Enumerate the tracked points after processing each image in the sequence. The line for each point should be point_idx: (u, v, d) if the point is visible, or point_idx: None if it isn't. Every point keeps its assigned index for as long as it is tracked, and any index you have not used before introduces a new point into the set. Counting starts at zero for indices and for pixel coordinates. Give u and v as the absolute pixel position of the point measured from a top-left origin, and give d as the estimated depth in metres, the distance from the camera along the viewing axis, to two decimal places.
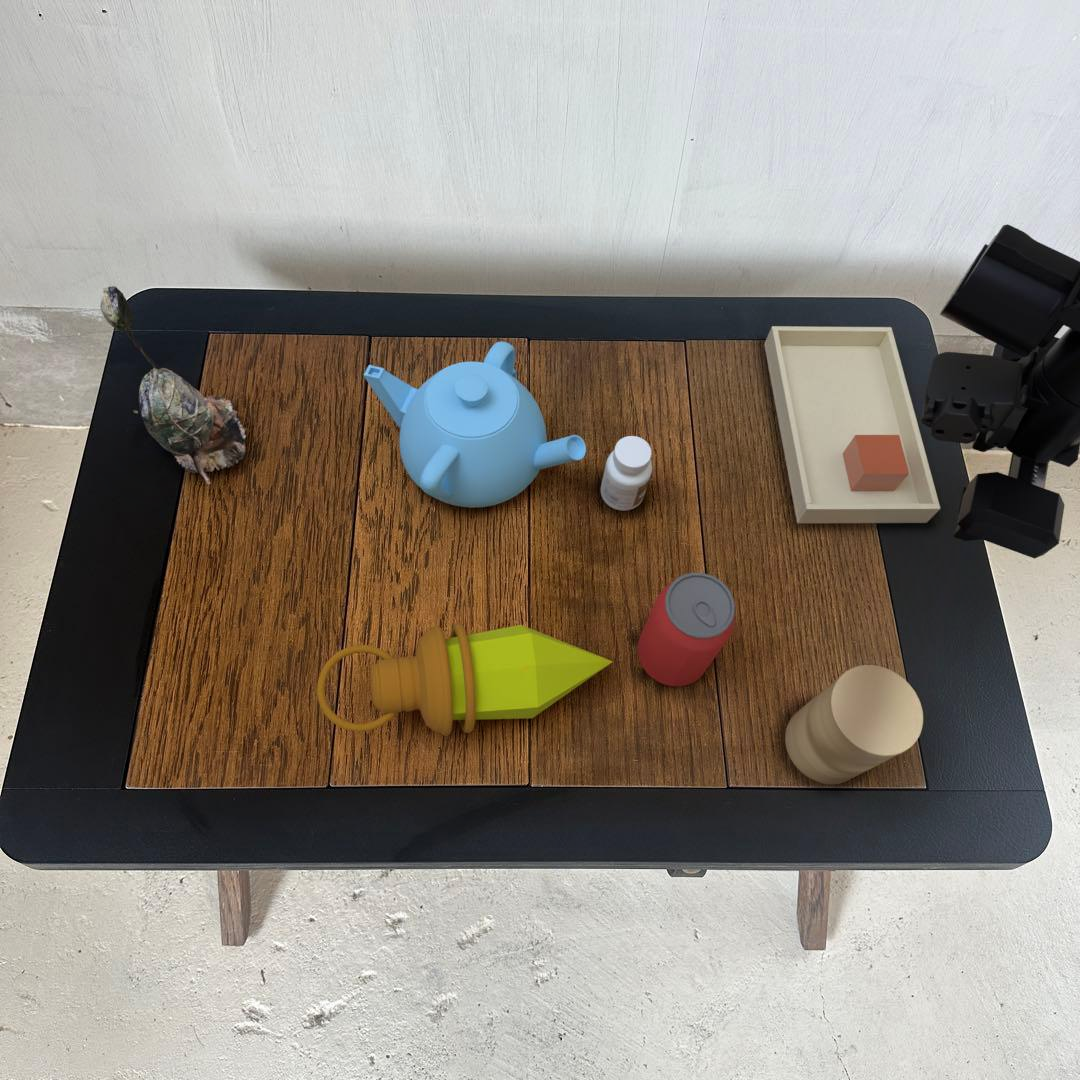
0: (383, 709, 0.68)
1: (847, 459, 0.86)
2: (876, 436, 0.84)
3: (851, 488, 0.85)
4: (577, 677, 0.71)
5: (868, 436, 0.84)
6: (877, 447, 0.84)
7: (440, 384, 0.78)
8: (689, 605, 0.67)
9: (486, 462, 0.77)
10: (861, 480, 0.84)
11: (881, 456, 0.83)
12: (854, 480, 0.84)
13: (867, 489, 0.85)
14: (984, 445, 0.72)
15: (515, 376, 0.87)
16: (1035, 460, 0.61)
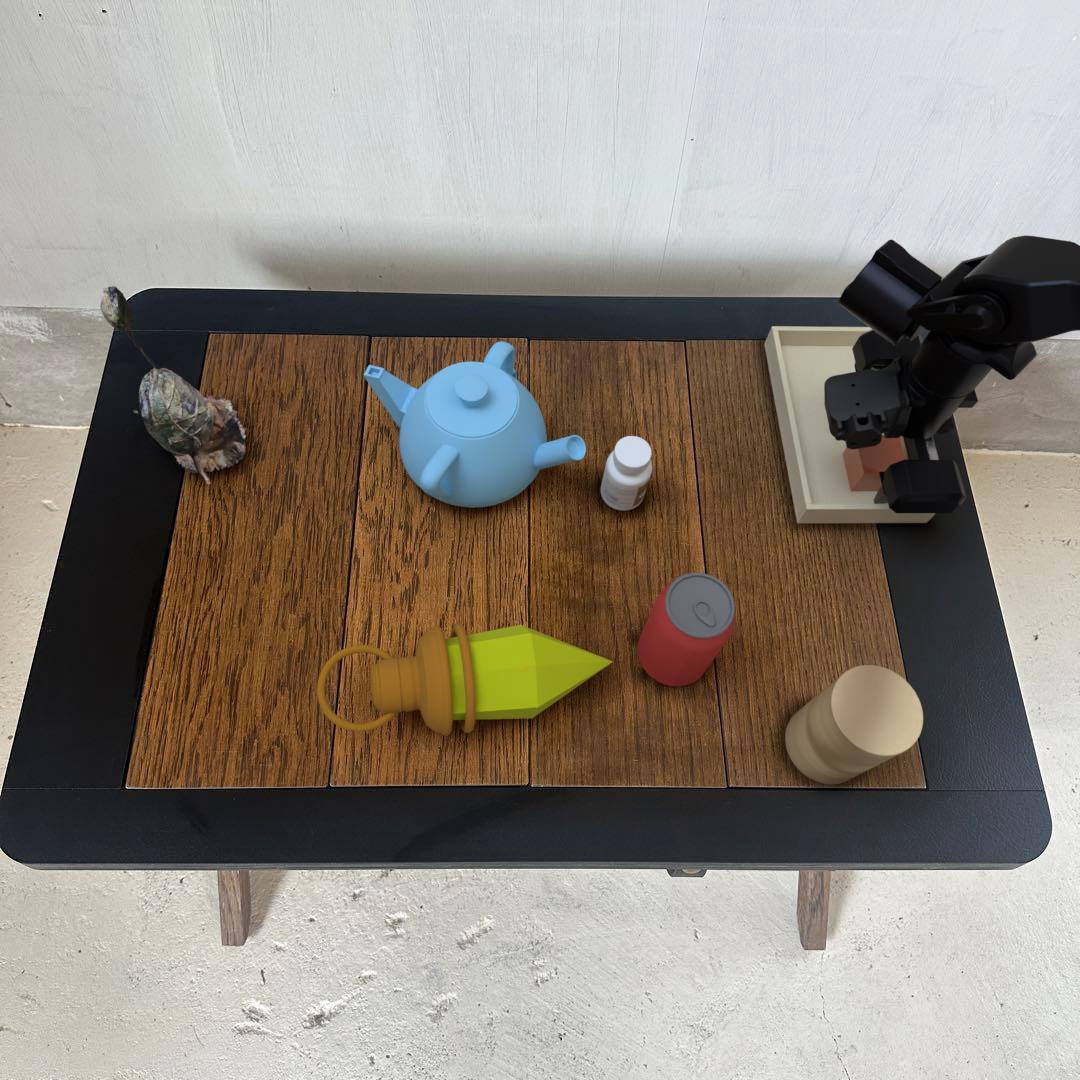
0: (383, 709, 0.68)
1: (847, 459, 0.86)
2: None
3: (851, 488, 0.85)
4: (577, 677, 0.71)
5: None
6: (877, 447, 0.84)
7: (440, 384, 0.78)
8: (689, 605, 0.67)
9: (486, 462, 0.77)
10: (861, 480, 0.84)
11: (881, 456, 0.83)
12: (854, 480, 0.84)
13: (867, 489, 0.85)
14: None
15: (515, 376, 0.87)
16: (924, 438, 0.76)
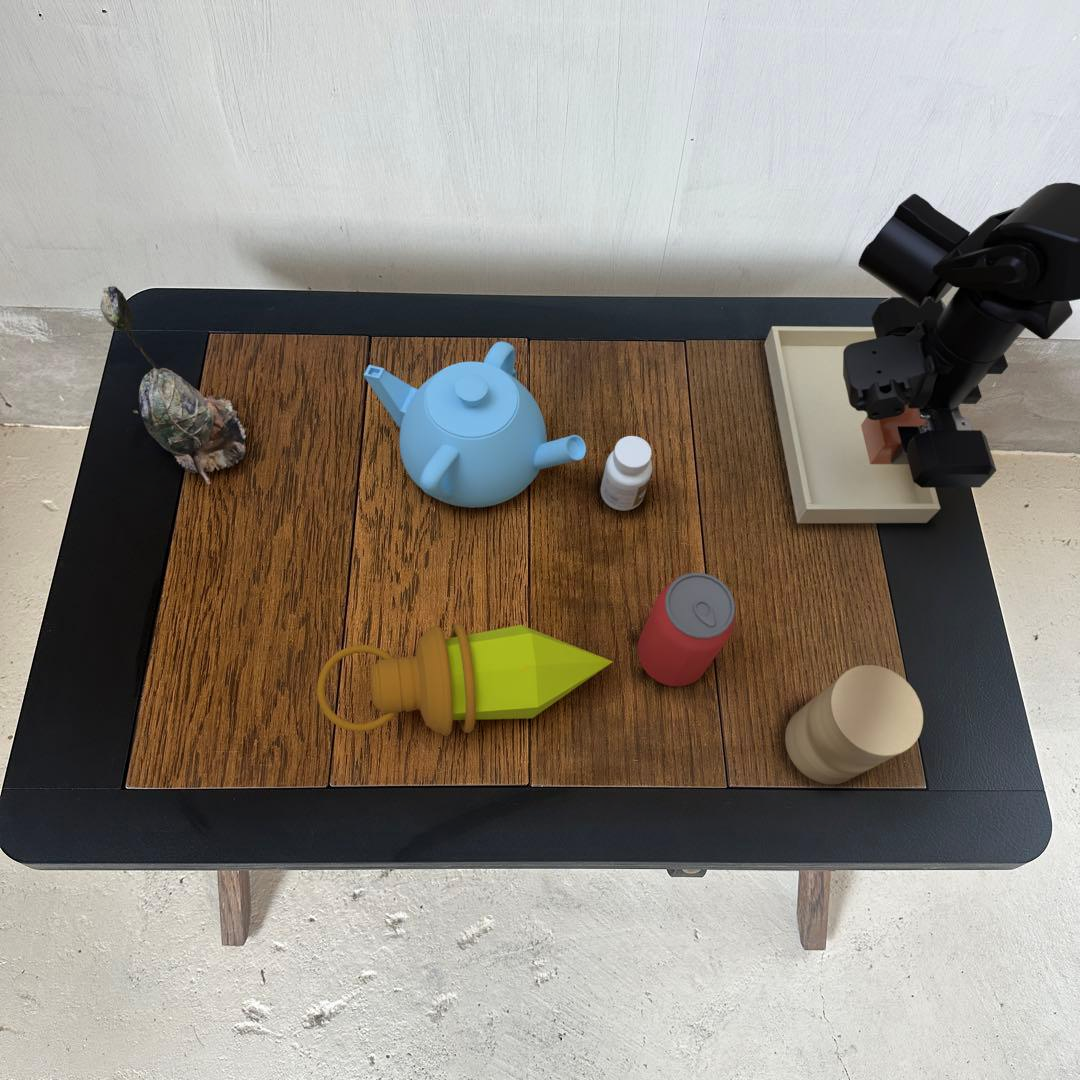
0: (383, 709, 0.68)
1: (866, 430, 0.82)
2: None
3: (870, 461, 0.81)
4: (577, 677, 0.71)
5: None
6: (899, 417, 0.79)
7: (440, 384, 0.78)
8: (689, 605, 0.67)
9: (486, 462, 0.77)
10: (882, 452, 0.79)
11: None
12: (874, 453, 0.80)
13: (887, 462, 0.81)
14: None
15: (515, 376, 0.87)
16: (950, 408, 0.72)
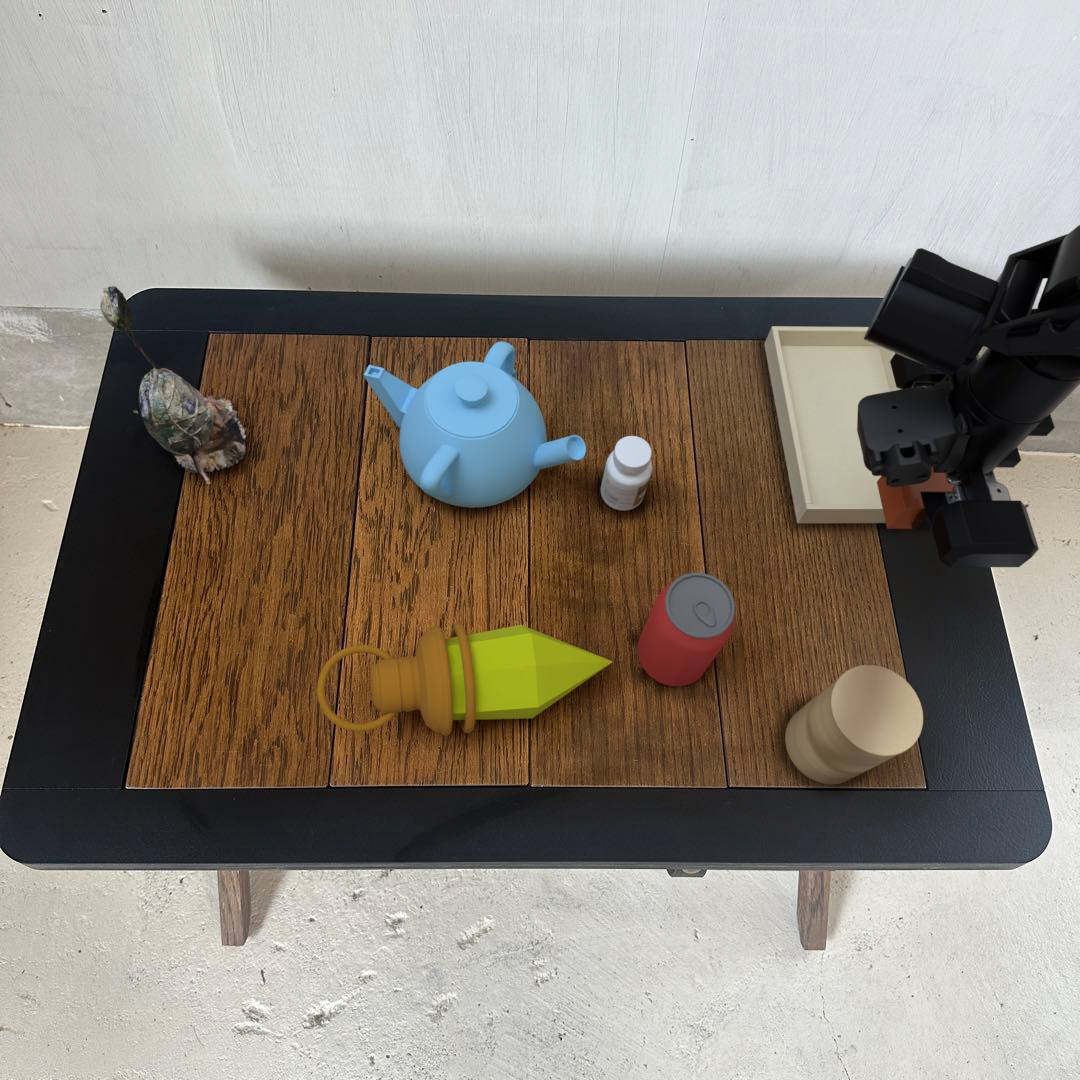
0: (383, 709, 0.68)
1: (882, 489, 0.71)
2: None
3: (888, 525, 0.70)
4: (577, 677, 0.71)
5: None
6: None
7: (440, 384, 0.78)
8: (689, 605, 0.67)
9: (486, 462, 0.77)
10: (901, 517, 0.68)
11: (926, 487, 0.68)
12: (892, 516, 0.69)
13: (907, 526, 0.70)
14: None
15: (515, 376, 0.87)
16: (983, 472, 0.61)
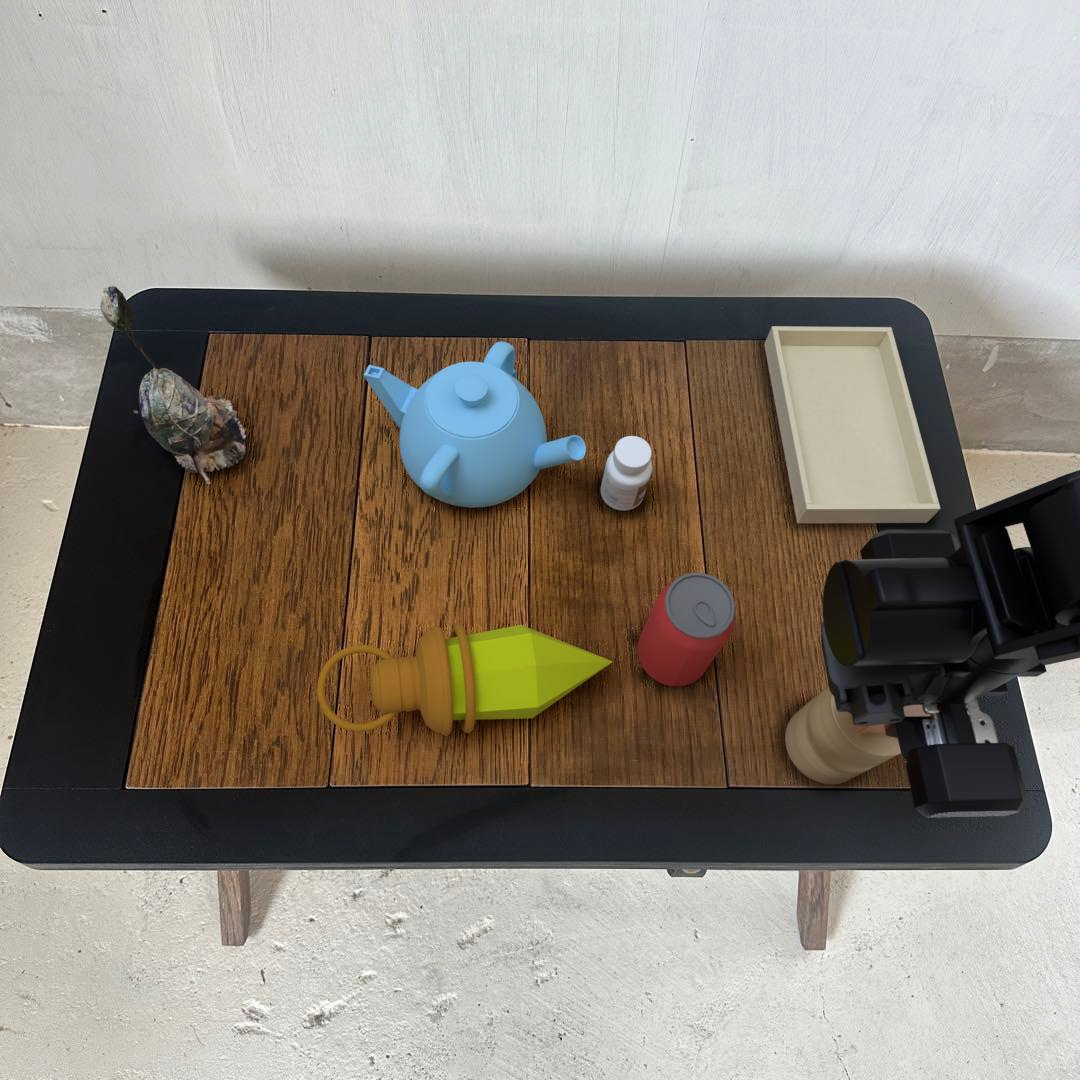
0: (383, 709, 0.68)
1: None
2: None
3: (858, 729, 0.62)
4: (577, 677, 0.71)
5: None
6: None
7: (440, 384, 0.78)
8: (689, 605, 0.67)
9: (486, 462, 0.77)
10: (873, 726, 0.60)
11: None
12: None
13: (880, 731, 0.62)
14: None
15: (515, 376, 0.87)
16: (965, 702, 0.53)
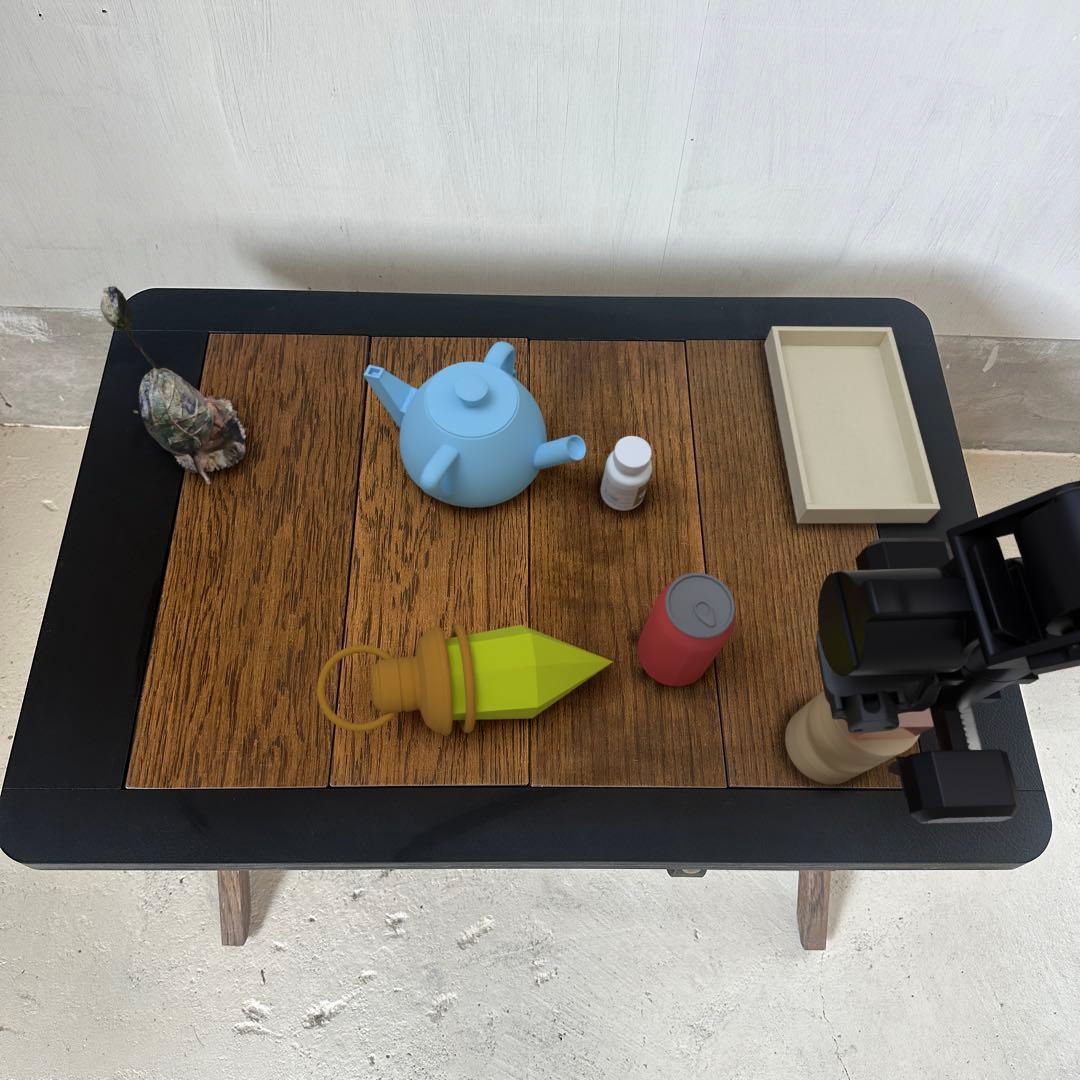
0: (383, 709, 0.68)
1: None
2: None
3: (854, 736, 0.63)
4: (577, 677, 0.71)
5: None
6: None
7: (440, 384, 0.78)
8: (689, 605, 0.67)
9: (486, 462, 0.77)
10: None
11: None
12: None
13: (876, 737, 0.63)
14: None
15: (515, 376, 0.87)
16: (959, 709, 0.54)
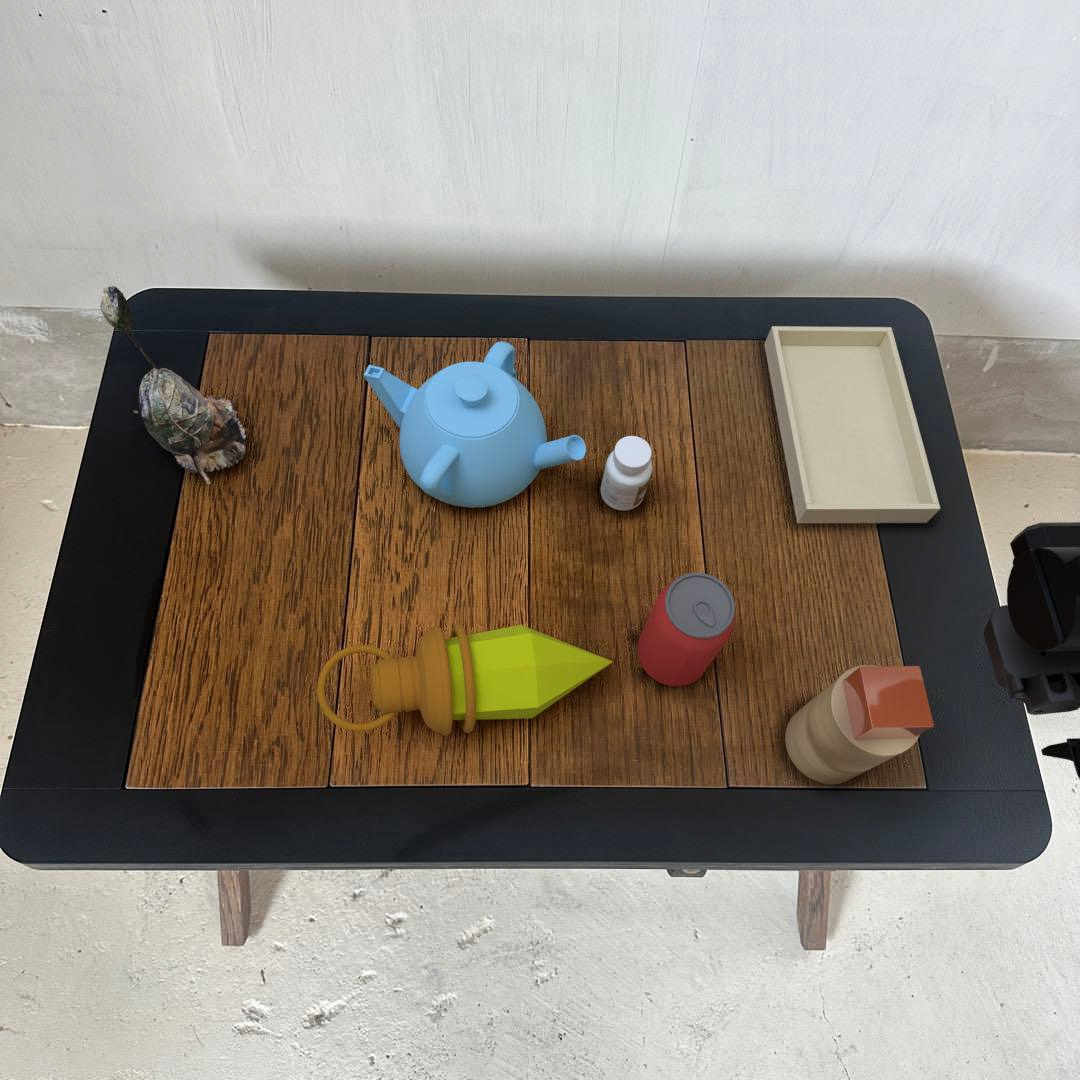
0: (383, 709, 0.68)
1: (848, 692, 0.64)
2: (888, 669, 0.62)
3: (854, 736, 0.63)
4: (577, 677, 0.71)
5: (877, 669, 0.62)
6: (891, 686, 0.61)
7: (440, 384, 0.78)
8: (689, 605, 0.67)
9: (486, 462, 0.77)
10: (869, 732, 0.61)
11: (896, 699, 0.61)
12: (858, 728, 0.62)
13: (876, 737, 0.63)
14: None
15: (515, 376, 0.87)
16: None
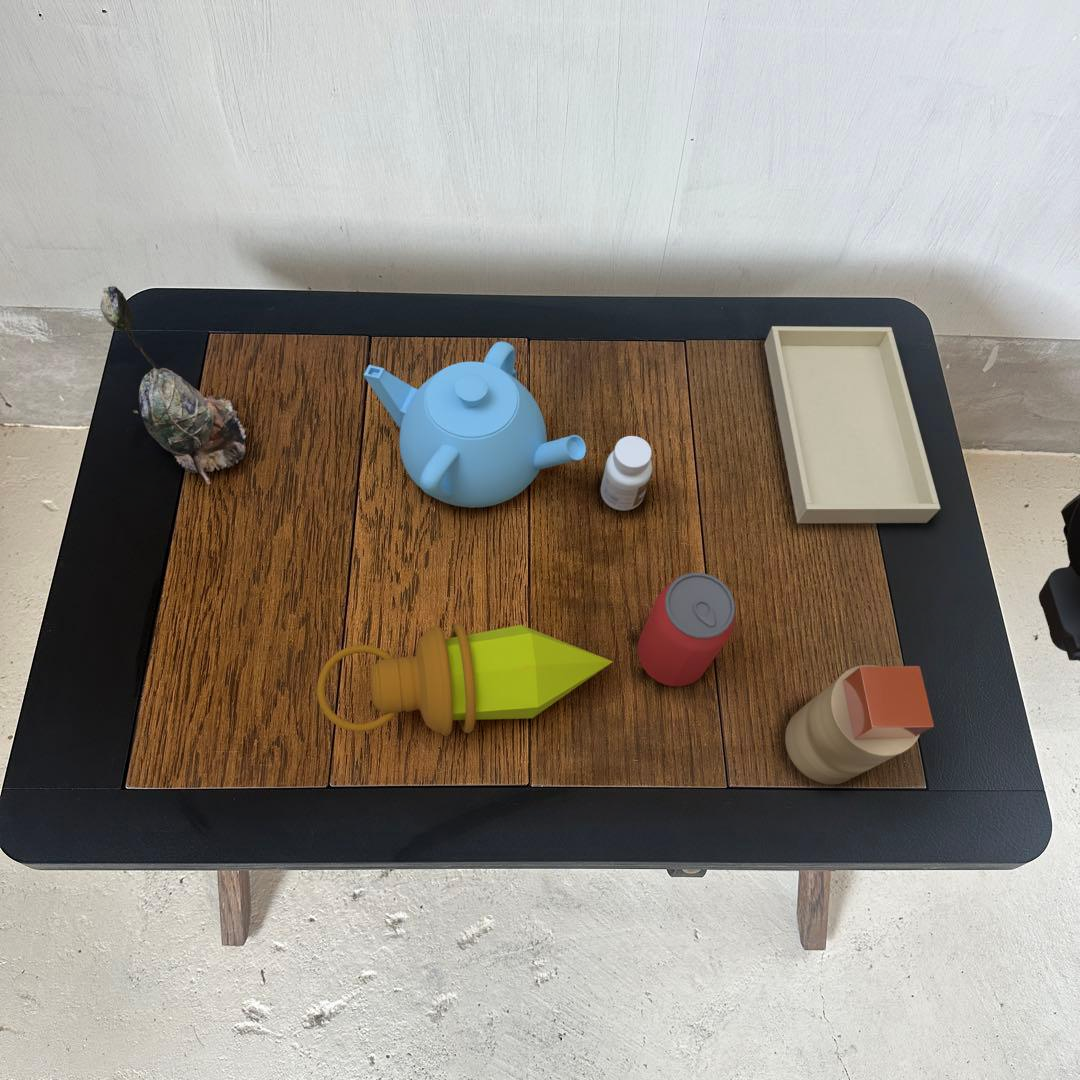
0: (383, 709, 0.68)
1: (848, 692, 0.64)
2: (888, 669, 0.62)
3: (854, 736, 0.63)
4: (577, 677, 0.71)
5: (877, 669, 0.62)
6: (891, 686, 0.61)
7: (440, 384, 0.78)
8: (689, 605, 0.67)
9: (486, 462, 0.77)
10: (869, 732, 0.61)
11: (896, 699, 0.61)
12: (858, 728, 0.62)
13: (876, 737, 0.63)
14: None
15: (515, 376, 0.87)
16: None
